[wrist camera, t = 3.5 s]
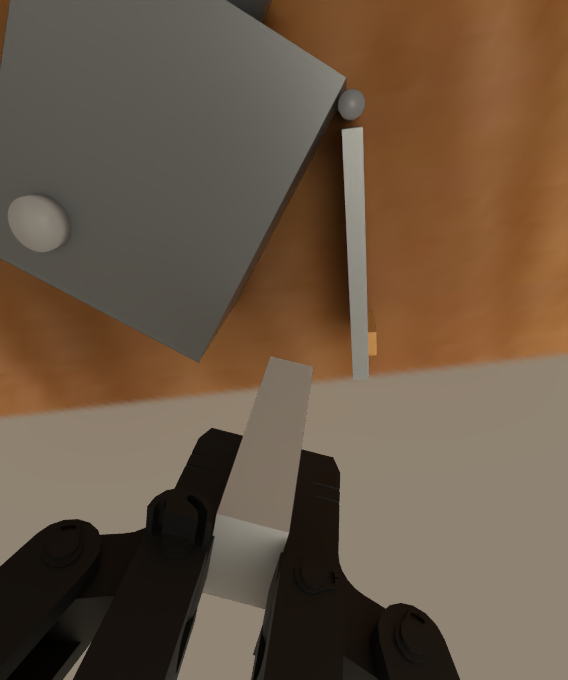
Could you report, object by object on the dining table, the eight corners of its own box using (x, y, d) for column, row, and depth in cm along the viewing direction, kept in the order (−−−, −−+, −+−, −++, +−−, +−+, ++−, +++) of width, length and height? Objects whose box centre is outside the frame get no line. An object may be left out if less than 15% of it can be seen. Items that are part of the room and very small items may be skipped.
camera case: (148, -80, 20) (20, -213, 12) (381, 72, 21) (401, 42, 13) (71, 213, 27) (-40, 249, 19) (249, 311, 28) (212, 381, 21)
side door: (343, 128, 22) (341, 129, 16) (367, 124, 22) (376, 125, 16) (351, 324, 27) (353, 380, 21) (372, 323, 27) (379, 380, 21)
